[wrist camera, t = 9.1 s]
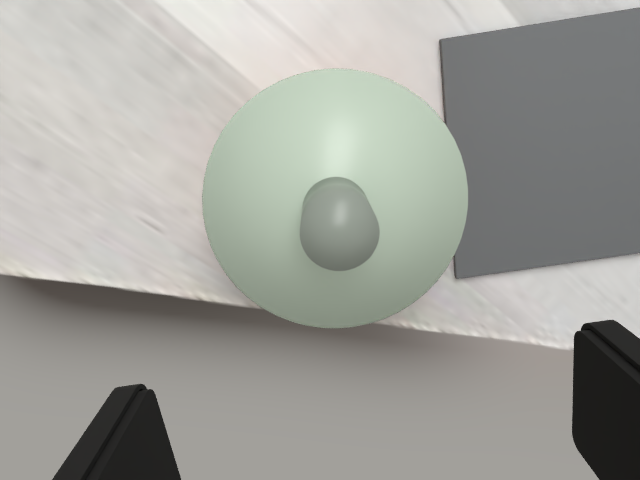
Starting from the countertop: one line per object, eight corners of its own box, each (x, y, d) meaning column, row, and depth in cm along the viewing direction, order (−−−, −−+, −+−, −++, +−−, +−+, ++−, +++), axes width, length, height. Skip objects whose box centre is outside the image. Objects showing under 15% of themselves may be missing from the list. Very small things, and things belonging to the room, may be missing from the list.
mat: (701, -2, 32) (707, -4, 31) (679, 244, 37) (683, 246, 37) (439, 39, 32) (441, 39, 32) (454, 276, 38) (456, 278, 37)
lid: (455, 47, 26) (493, 35, 20) (471, 304, 31) (505, 350, 25) (177, 93, 26) (140, 93, 21) (235, 337, 31) (217, 390, 26)
